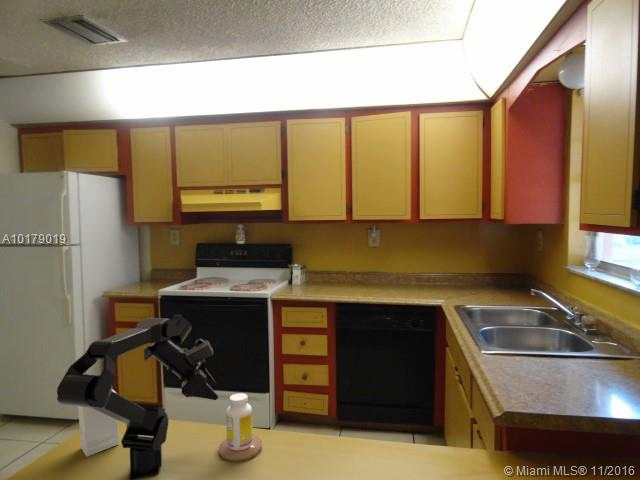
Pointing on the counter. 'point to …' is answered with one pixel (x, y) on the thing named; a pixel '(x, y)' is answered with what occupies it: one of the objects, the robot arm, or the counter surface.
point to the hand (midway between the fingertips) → (216, 391)
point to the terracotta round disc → (241, 454)
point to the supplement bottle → (239, 423)
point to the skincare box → (97, 430)
